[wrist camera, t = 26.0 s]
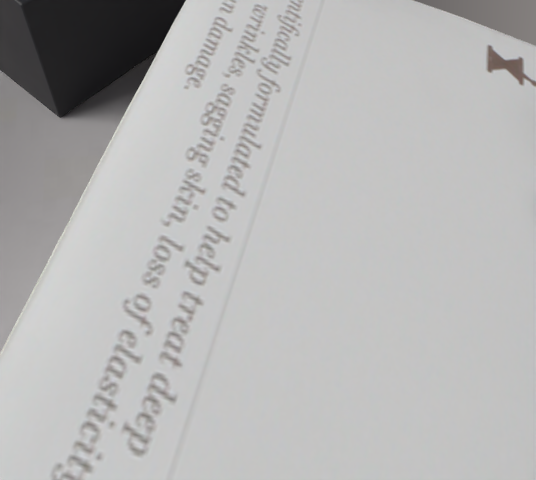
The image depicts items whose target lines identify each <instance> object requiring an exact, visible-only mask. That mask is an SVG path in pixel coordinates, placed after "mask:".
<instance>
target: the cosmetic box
mask: <svg viewBox="0 0 536 480" xmlns="http://www.w3.org/2000/svg"><path fill="white" fill-rule="evenodd" d="M0 480H536V46H535V45H532V44H530V43H527V42H524V41H521V40H519V39H516V38H514V37H511V36H509V35H506V34H503V33H501V32H498V31H496V30H493V29H491V28H488V27H485V26H483V25H480V24H478V23H475V22H472V21H470V20H467V19H465V18H462V17H459V16H456V15H453V14H451V13H448V12H445V11H442V10H440V9H437V8H433V7H431V6H428V5H425V4H422V3H419V2H416V1H413V0H186V1H185V3H184V5H183V6H182V8H181V10H180V12H179V14H178V15H177V17H176V19H175V21H174V22H173V24H172V26H171V28H170V30H169V32H168V34H167V35H166V37H165V39H164V41H163V43H162V45H161V47H160V49H159V51H158V53H157V55H156V56H155V58H154V60H153V62H152V64H151V66H150V68H149V70H148V72H147V74H146V76H145V77H144V79H143V81H142V83H141V85H140V86H139V88H138V90H137V92H136V94H135V95H134V97H133V99H132V101H131V103H130V104H129V106H128V108H127V110H126V112H125V114H124V116H123V118H122V120H121V122H120V123H119V125H118V127H117V129H116V131H115V133H114V135H113V137H112V139H111V141H110V143H109V145H108V146H107V148H106V150H105V152H104V154H103V156H102V158H101V160H100V162H99V164H98V166H97V167H96V169H95V171H94V173H93V175H92V177H91V179H90V181H89V183H88V185H87V187H86V189H85V191H84V193H83V195H82V197H81V199H80V200H79V202H78V204H77V206H76V208H75V210H74V212H73V214H72V216H71V218H70V220H69V222H68V224H67V226H66V228H65V230H64V231H63V233H62V235H61V237H60V239H59V241H58V243H57V245H56V247H55V249H54V251H53V253H52V255H51V257H50V258H49V260H48V262H47V264H46V266H45V268H44V270H43V272H42V274H41V276H40V278H39V280H38V282H37V283H36V285H35V287H34V289H33V291H32V293H31V295H30V297H29V299H28V301H27V303H26V305H25V307H24V308H23V310H22V312H21V314H20V316H19V318H18V320H17V322H16V324H15V326H14V328H13V330H12V332H11V334H10V335H9V337H8V339H7V341H6V343H5V345H4V347H3V349H2V351H1V353H0Z"/></svg>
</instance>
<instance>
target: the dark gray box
mask: <svg viewBox="0 0 536 480" xmlns="http://www.w3.org/2000/svg"><path fill="white" fill-rule="evenodd" d="M185 1H186V0H0V70H1V71H2V72H4V73H5V74H6V75H7V76H9V77H10V78H11V79H12V80H14V81H15V82H16V83H17V84H19V85H20V86H21V87H22V88H24V89H25V90H26V91H27V92H29V93H30V94H31V95H32V96H34V97H35V98H36V99H37V100H39V101H40V102H41V103H42V104H44V105H45V106H46V107H47V108H49V109H50V110H51V111H52V112H54V113H55V114H56V115H57V116H59V117H62V116H64V115H65V114H67V113H68V112H69V111H71V110H72V109H74V108H75V107H77V106H78V105H80V104H81V103H82V102H84V101H85V100H87V99H88V98H90V97H91V96H93V95H94V94H95V93H97V92H98V91H100V90H101V89H103V88H104V87H106V86H107V85H108V84H110V83H111V82H113V81H114V80H116V79H117V78H118V77H120V76H121V75H123V74H124V73H126V72H127V71H129V70H130V69H131V68H133V67H134V66H136V65H137V64H139V63H140V62H142V61H143V60H144V59H146V58H147V57H149V56H150V55H152V54H153V53H155V52H156V51H157V50H159V49H160V47H161V45H162V43H163V41H164V39H165V37H166V35H167V34H168V32H169V30H170V28H171V26H172V24H173V22H174V21H175V19H176V17H177V15H178V14H179V12H180V10H181V8H182V6H183V5H184V3H185Z"/></svg>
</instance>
